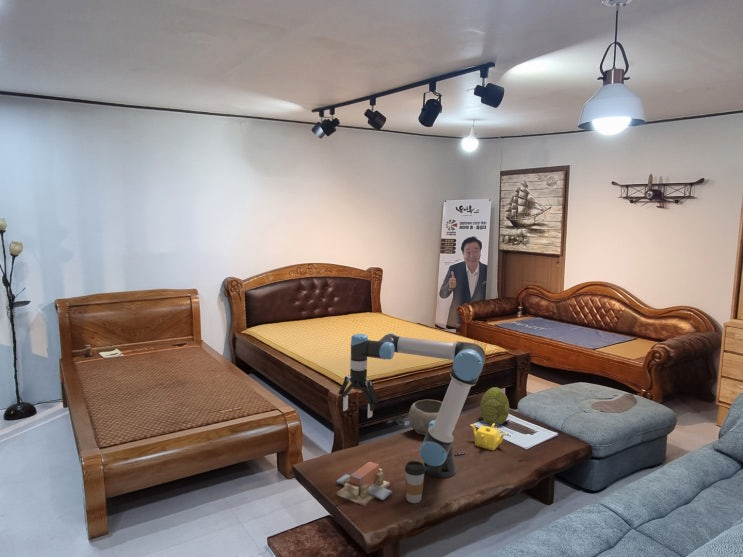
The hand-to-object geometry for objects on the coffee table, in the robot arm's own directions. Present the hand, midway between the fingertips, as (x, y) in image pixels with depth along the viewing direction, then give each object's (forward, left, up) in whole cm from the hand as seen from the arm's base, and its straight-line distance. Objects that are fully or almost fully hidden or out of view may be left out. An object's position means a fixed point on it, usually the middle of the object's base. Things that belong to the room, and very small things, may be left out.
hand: (357, 413), depth 236 cm
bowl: (-9, -57, -27) cm, 64 cm away
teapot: (-41, -60, -27) cm, 78 cm away
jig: (-13, +13, -27) cm, 32 cm away
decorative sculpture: (-33, -92, -27) cm, 101 cm away
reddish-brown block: (-13, +13, -25) cm, 31 cm away
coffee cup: (-34, +7, -27) cm, 44 cm away
